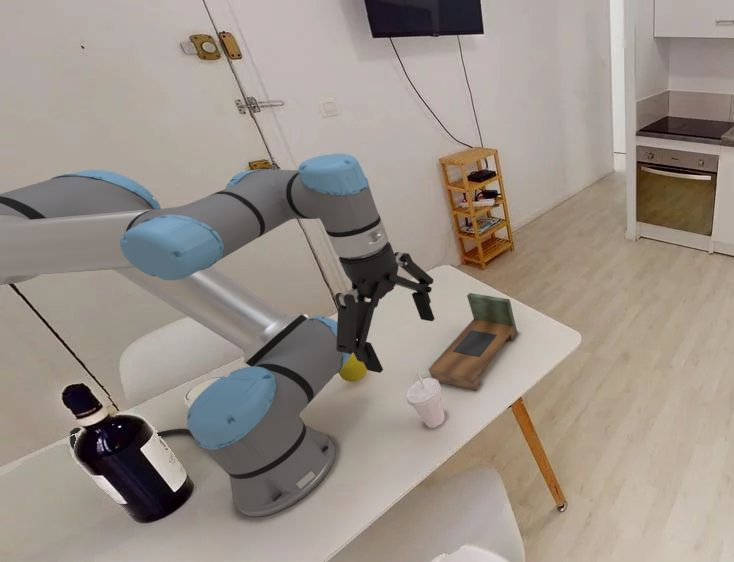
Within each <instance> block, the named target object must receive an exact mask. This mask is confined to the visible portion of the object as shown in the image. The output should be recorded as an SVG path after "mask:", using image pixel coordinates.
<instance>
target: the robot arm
mask: <svg viewBox="0 0 734 562" xmlns="http://www.w3.org/2000/svg"><path fill="white" fill-rule="evenodd" d="M297 168H298V169H273V168H268V169H267V168H259V169H252V170H251V169H250V170H244V171H240V172H238V173H235V175H233V176H232V177H231V179H230V180H229V182H227V183H226V185H225V188H224V189H221V190H218V191H216V192H214V193H212V194H209V195H207V196H205V197H202V198H200V199H197V200H195V201H193V202H189V203H187V204H184V205H180V206H174V207H163V208H161V205H160V203H159V201H158V200H156V199H154V195H153V193H152V192H151V191H150V190H148V189H147V188H146V187H145V186H143V185H141V184H140V183H139V182H137V181H135V180H133V179H131V178H130V177H127V176H125V175H122V174H120V173H117V172H114V171H108V170H102V169H101V170H100V169H99V170H98V169H88V170H82V171H77V172H74V173H65V174H61V175H56V176H54V177H51V178H50V179H47V180H43V181H41V182H37V183H32V184H30V185H27V186H23V187H20V188H15V189H12V190H9V191H6V192H3V193H0V286H2V285H12V284H18V283H22V282H27V281H29V280H32V279H34V278H37V277H39V276H41V275H53V274H54V275H55V274H66V273H80V272H94V271H110V270H111V271H114V272H115V273H117V274H119V275H121V276H122V277H124V278H126V279H127V280H129V281H130V282H132V283H134V284H135V285H137V286H139V287H140V288H141V289H143V290H145V291H147V293H150V294H152V295H153V296H154V297H156V298H157V299H159V300H161V301H162V302H164V303H166V304H167V305H169V306H171V307H172V308H174V309H176V310H178V311H179V312H180V313H182V314H183V315H185V316H188V317H189V318H190V319H192V320H193V321H195V322H197V323H198V324H200V325H201V326H203V327H205V328H207V329H208V330H210V331H211V332H212V333H215V334H216V335H218V336H219V337H221V338H223V339H224V340H226V341H228V342H229V343H230V344H233V345H234V346H236V347H237V348H239V349H240V350H242V351H243V364H244V363H245V365H247V367H241V368H238V369H236V370H233V371H231V372H230V373H229V375H227V376H221V377H220V378H217V380H215V381H213V382H212V383H210V384H209V386H207V387H206V388H205V389H204V390H203V391H201V393H200V394H198V396H197V397H196V398H195V399H194V400H193V402H192V404H191V405H190V407H189V409H188V412H187V415H186V427H187V428H174V429H167V430H162V431H158V432H156V433H157V434H158V436H159V437H164V436H168V435H178V434H179V435H188V436H191V437H193V439H194V441H195V442H196V444H197V445H198V446H199V447H201V448H203V449H204V450H205V451H206V453H208V454H209V456H210V457H211V458H212V459H213V460H214V461H215V462H216V464H217V465H219V466H220V468H222V469H223V471H224V472H226V474H227V475H228V476H229V482H230V488H231V489H230V491H231V495H232V496H231V497H232V502H233V504H234V505H235V507H236V508H237V509H238V510H239V511H240V513H242V514H243V515H245V516H249V517H254V518H257V517H259V518H260V517H265V516H270V515H273V514H276V513H279V512H281V511H283V510H285V509H287V508H289V507H291V506H293V505H294V504H296V503H297V502H299V501H300V500H302V499H304V498H305V497H306V496H308V495H309V494H310V493H311V492H312V491H313V490H314V489H315V488H316V487H318V485H319V484H320V483H321V482H322V481H323V480H324V478H325V477H326V476H327V474H328V473H329V472H330V470H331V468H332V466H333V463H334V460H335V458H336V448H335V447H336V446H335V445H334V443H333V442H332V440H331V438H330V436H328V435H327V434H325V433H323V432H321V431H319V430H317V429H315V428H313V427H310V426H309V425H307V424H305V422H304V421H303V419H302V417H301V416H300V415H301V413H302V412H303V411H304V410H305V409H306V407H308V405H309V404H310V403H311V402H312V401H313V400H314V399H315V398H316V397H317V396H318V394H319V393H320V392H321V391H322V390H323V389H324V388H325V387H326V386H327V385H328V383H329V382H331V380H332V379H333V378H334V377H335V376H336V375H337V374H339V371H341V369H342V368H343V365H344V364H345V363H346V362H347V361H348V359H349V358H350V356H351V355H352V354H354V355H355V357H356V359H357V360H358V361H360V362H364V364H365V366H366V368H367V372H368V371H369V372H373V373H378V374H381V373H382V372H383V371H384V368H383V366H382V364H381V361H380V360H379V357H378V355H377V353H376V351H375V349H374V347H373V345H372V342H369V341H367V340H368V336H369V332H370V328H371V325H372V320H373V316H374V311H375V309H376V308H377V307H378V306H379V303H380V300H382V299H383V298H385V296H386V295H387V294H388V293H390V292H392V291H393V290H394V289H395V286H399V287H403V288H405V289H408V290H412V291H413V292H412V293H411V296H412V299H413V302H414V305H415V307H416V309H417V312H418V316H419V317H420V320H422V321H428V322H434V321H435V320H436V318H435V316H434V313H433V310H432V307H431V302H432V301H431V300H432V299H431V297H430V295H429V294H430V293H431V292H432V289H433V288H432V286H430V285H433V283H434V281H435V280H434V278H433V277H432V276H430V275H429V273H427V272H426V271H425V270H423V269H422V268H421V267H420V266H419V265H417V263H415V262H414V261H413V259H412V257H411V254H410V253H408V252H400V251H399V252H398V251H395V252H394V249H393V247H392V244H391V243H390V241H389V236H388V233H387V231H386V229H385V226H384V222H383V220H382V219H381V216H380V213H379V212H378V209H377V206H376V203H375V200H374V197H373V194H372V191H371V187H370V185H369V180H368V178H367V177H366V175H365V173H364V171H363V168H362V167H361V165H360V162H359V161H358V159H357V158H356V157H355V156H353V155H351V154H349V153H332V154H322V155H318V156H314V157H311V158H308V159H306V160H304V161H302V162H301V163H300V164H299V165H298V167H297ZM297 219H298V220H317V219H318V220H320V221H321V223H322V225H323V227H324V230H325V232H326V234H327V237H328V239H329V241H330V243H331V246H332V248H333V251H334V253H335V254H336V256H338V261H339V263H340V265H341V268H342V269H343V272H344V274H345V276H346V277H347V278H348V279H349V281H350V282H351V289H349V290H347V291H345V292H337V293H336V294H335V296H334V300H335V302H336V306H337V321H336V320H334V319H332V318H331V317H325V316H323V315H315V316H313V317H309V319H308V318H307V317H305V316H304V315H305V314H302V313H291V314H289V313H285V312H284V311H282V310H281V309H279V308H277V306H274V305H273V304H272V303H270V302H268V301H267V300H265V299H264V298H263V297H261V296H260V295H259V294H257V293H255V292H254V291H252V290H251V289H249V288H248V287H246V286H245V285H243V284H242V283H241V282H239V281H238V280H237V279H235V278H234V277H232V276H230V275H228V274H227V273H226V272H224V271H223V270H221V269H220V268H218V267H216V266H215V264H217V263H218V262H219V261H221V260H222V259H224V258H226V257H227V256H229V255H231V254H233V253H234V252H236V251H237V250H240V249H241V248H243V247H244V246H247V245H248V244H250V243H252V242H253V241H255V240H256V239H258V238H260V237H262V236H264V235H266V234H267V233H269V232H271V231H273V230H275V229H276V228H277V227H280V226H281V225H283V224H285V223H287V222H289V221H291V220H297ZM399 268H401V269H402V270H403V271H405V272H406V273H407V274H409V275H410V276H411V277H412V278H413V279H414V280H416V281H413V280H410V279H408V278H406V277H403V276H401V275H398V272H399ZM366 299H368V300H370V301H367V300H366ZM80 431H82V429H81V428H80V427H74V428H72V430H71V431H70V435H69V445H70V447H71V449H72V450H73V451H75V450H74V444H75V441H76V437H75V435H73V436H71V435H72V434H75V433H78V434H79V432H80ZM70 436H71V437H70Z"/></svg>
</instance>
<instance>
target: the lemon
mask: <svg viewBox="0 0 734 562" xmlns="http://www.w3.org/2000/svg"><path fill="white" fill-rule="evenodd" d="M367 372H368V370H367V368H366V366H365V364H364V362H360V361H358V360H357V359H356V357H355V355H354V353H352V355H351V356H350V358H349V359H348V361H347V362H346V363H345V364H344V365H343V368H342V369H341V371H339V372H338V374H339V376H340V377H341V379H342V380H343V381H345V382H348V383H355V382H358V381H360V380H363V378H364V377H365V376H366V374H367Z"/></svg>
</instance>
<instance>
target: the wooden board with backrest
mask: <svg viewBox="0 0 734 562" xmlns="http://www.w3.org/2000/svg"><path fill="white" fill-rule="evenodd" d="M466 297H467V301H468V304H469V307H470V310H471V314H472V317H473V319H472V320H471V321H470V322H469V324H467V326H466V327H465V328H464V329H463V330H462V331H461V332H460V333H459V335H458V336H457V337H456V338H455V339H454V340H453V341H452V342H451V343H450V345H448V347H446V349H445V350H444V351H443V352H442V353H441V354H440V356H438V358H437V359H436V360H435V361H434V362H433V363H432V364H431V365H430V366H429V368H428V372H429V374H430V378H434V379H436V380H437V381H438V382H439V383H443V384H447V385H450V386H451V385H452V386H456V387H460V388H464V389H469V390H474V391H477V390H478V389H479V387H480V386H481V384H480V381H479V377H480V376H481V374H482V373H483V372H484V370H485V369H486V367H487V366H488V365H489V364H490V362H491V361H492V360H493V358H494V357H495V355H496V354H497V353H498V352H499V350H500V349H501V347H502V346H503V345H504V344H505V342H506V341H510V342H513V341H514V339H516V337H517V336H518V329H517V325H516V320H515V316H514V312H513V308H512V303H511V299H510V298H504V297H498V296H492V295H486V294H485V295H484V294H480V293H473V292H469V293H468V294H467V295H466Z"/></svg>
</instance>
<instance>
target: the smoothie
mask: <svg viewBox="0 0 734 562" xmlns="http://www.w3.org/2000/svg"><path fill="white" fill-rule="evenodd" d="M416 376H417V378H418V381H416V382H414V383H413V384H412V385H411V386H410V387H409V388H408V389H407V391H406V394H405V399H406V402H407V403H408V405H410V406H411V407H413V409H414V410H415V412H416V413H417V414H418V415H419V417H420V419H421V420H422V421H423V422H424V424H425V425H426V427H428V428H430V429H434V428H437V427H439V426H440V425H441V424H442V423H443V422H444V421H445V418H446V416H445V411H444V406H443V400H442V396H441V395H442V394H441V387H442V386H441V384H440V382H438V381H437V380H436V379H434V378H432V377H426V378H423V377H422V375H421V373H420V371H417V372H416Z"/></svg>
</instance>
